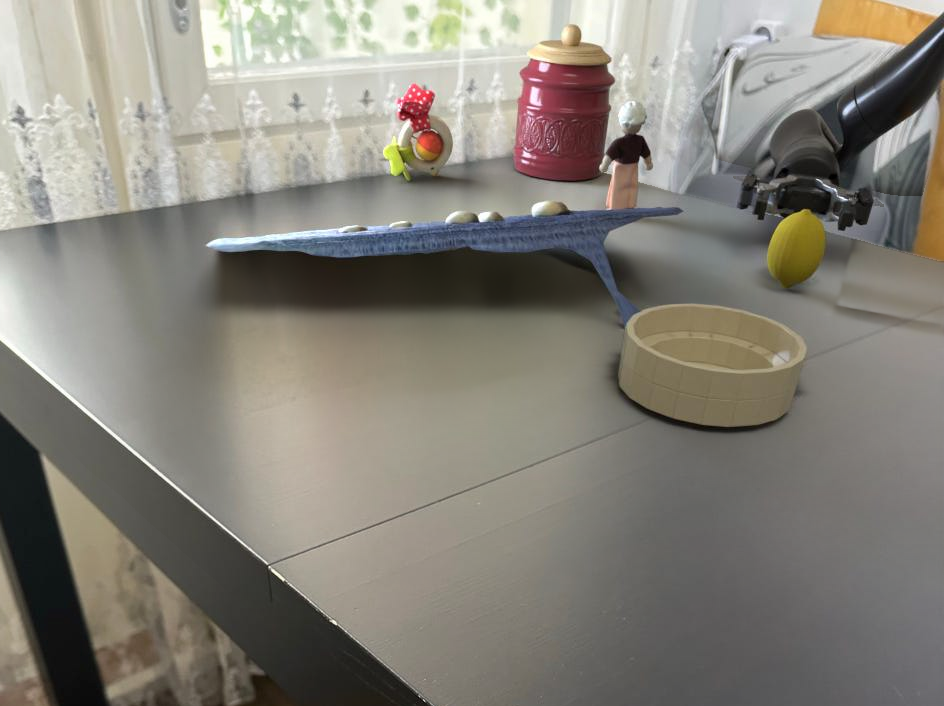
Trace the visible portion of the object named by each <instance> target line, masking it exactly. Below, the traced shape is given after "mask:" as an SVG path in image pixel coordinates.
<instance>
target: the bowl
mask: <svg viewBox="0 0 944 706" xmlns="http://www.w3.org/2000/svg"><path fill="white" fill-rule="evenodd" d="M640 311H641V312H638V313H636V314H634V315H633V316H632V317H631V318H630V320H629V321H628V322H627V324H626V328H625V327H624V335H623V340H622V347H621V353H620V359H619V364H618V365H619V366H618V372H617V378H618V384H619V385H618V386H619V387H620V389H621V390H622V391H623V392H624V393H625V395H626V396H627V397H628V398H629V399H631V400H632V401H634V402H636V403H637V404H639V405H640V406H642V407H643V408H644V409H647V410H650V411H652V412H654V413H657V414H660V415H663V416H665V417H668V418H670V419H673V420H677V421H684V422H687V423H692V424H697V425H701V426H712V427H721V428H733V427H734V428H735V427H748V426H759V425H762V424H766V423H769V422H772V421H776V420H778V419H779V418H781V417H783V416H784V415H785V414H787V413H788V412H789V411H790V409H791V407H792V403H793V401H794V397H795V393H796V391H797V386H798V383H799V379H800V376H801V373H802V369H803V366H804V362H805V360H806V359H805V358H806V356H807V352H808V347H807V345H806V343H805V340H804V339H803V338H802V336H800V335H799V334H797V333H796V331H794V330H792V329H791V328H789V327H788V326H787V325H785V324H782V323H780V322H778V321H776V320H774V319H771V318H769V317H767V316H763V315H761V314H756V313H753V312H750V311H747V310H744V309H739V308H733V307H727V306H724V305H723V306H722V305H715V304H703V303H671V304H662V305H657V306H653V307H648V308H645V309H643V310H640Z"/></svg>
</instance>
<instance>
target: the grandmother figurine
mask: <svg viewBox="0 0 944 706" xmlns="http://www.w3.org/2000/svg"><path fill="white" fill-rule="evenodd" d="M618 118H619V119H618V121H619V126H620V130H621V131H622V132H623V134H624V135H623V136H621V137H618V138H615V139H614V140H613V141H612V142H611V144H610V145H609V147H608V148H607V150H606V151H605V152H604V153H605V157H604V159H603V163H602V164H601V165H600V171H601V173H607V172H608V170H609V167H610V165H611V164H612V162H614V163H613V171H612V174H611V180H610V184H609V187H608V192H607V196H606V203H605V206H606V207H607V208H606V209H605V210H611V209H615V210H616V209H617V210H622V209H632V208H633V209H634V208H637V203H638V201H637V200H638V194H639V163H640V159H641V158H642V162H643V163H644V169H645V170H646V171H651V170H653V168H654V163H653V162H652V161H653V158H652V152H651V149H650V147H649V145H648V143H647V141H646V139H645V137H644V135H641V134H638V133H639V132H640V131H641V129H642V127H643V125H644V124H646V120H647V119H648V115H647V112H646V108H645V107H644V104H643V103H642V102H640V101H636V100H631V101H628V102H626V103H625V104H623V105H622V106H621V108H620V109H619V112H618Z"/></svg>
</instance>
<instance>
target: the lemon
mask: <svg viewBox="0 0 944 706" xmlns="http://www.w3.org/2000/svg"><path fill="white" fill-rule="evenodd" d="M826 238H827V237H826V230H825V226H824V225H823V222H822V221H821V219H819V218H817V217H816V216H815V215H813V214H812V213H811V211H810V210H809V209H803V210H802V211H801V212H798V213H794V214H792V215H790V216H788V217H787V218H785V219H784V218H783V220H781V221H780V223H778V225H777V227H776V229H775V230H774V232H773V234H772V236H771V240H770V241H769V245H768V247H767V248H768V249H767V256H766V260H767V261H766V263H767V267H768V271H769V273H770V274H771V276H772V277H773V278H774V279H775V280H776V281H777V282H779V284H780V285H781V287H782V288H783V289H785V290H789V289H791V288H792V287H794V286H795V285H798V284H802V283H804V282H805V281H807V280H809V279H810V278H812V276H813V275H814V274H815V272H816V271H817V269H818V268H819V266H820V265H821V263H822V260H823V258H824V255H825V249H826V241H827V239H826Z"/></svg>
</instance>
